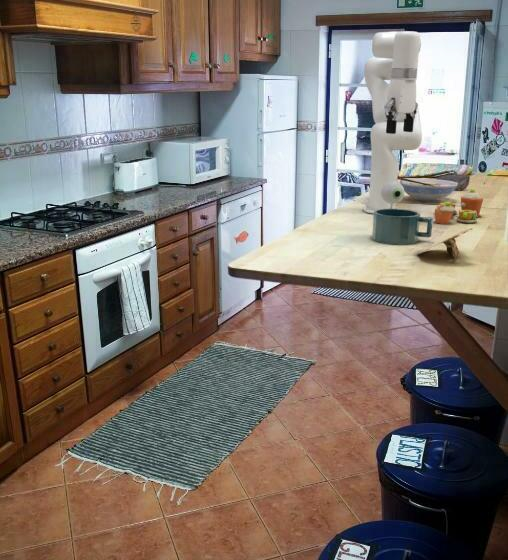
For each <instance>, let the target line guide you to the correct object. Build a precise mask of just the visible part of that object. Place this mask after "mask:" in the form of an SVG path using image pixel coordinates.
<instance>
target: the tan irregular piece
mask: <svg viewBox="0 0 508 560" xmlns="http://www.w3.org/2000/svg"><path fill="white" fill-rule="evenodd" d="M470 231H473V228H471V227H470V228H466V229H464V230H462V231H460V232H458V233H456V234H454V235H452V236H450V237H448V238H446V239H444V240H442V241H440V242H438V243H436V244H433V245H432V246H430V247H429V248H426V249H424V250H422V251H420V254H423V253H425V252H427V251H428V250H430V249H432V248H434V247H436V246H438V245H441V244H444V245H445V247H446V253H447V254H448V255H449V256H451V257H452V258H453V259H452V263H455V262H456V261H457V258H458V256H459V254H460V251H459V248H458V245H457V242H456V241H457V240H456V239H457V238H458V237H460V235H463V234H468V233H469V232H470Z"/></svg>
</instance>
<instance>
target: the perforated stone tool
mask: <svg viewBox="0 0 508 560" xmlns="http://www.w3.org/2000/svg"><path fill="white" fill-rule="evenodd" d="M436 179H437V180H446V181H452V182H456V183H457V184H458V185H457V187H456V188H455V190H454V191H456V190H461V191H463V190H467V188H468V186H469V185H470V179H471V177H470V175H469V174H445V175H441V176H438V177H436Z"/></svg>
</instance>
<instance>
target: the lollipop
mask: <svg viewBox="0 0 508 560" xmlns="http://www.w3.org/2000/svg"><path fill="white" fill-rule="evenodd" d="M381 196H382V198H383V200H384V201H385V202H387V203H389V204H391V206H390V209H392V208H393V204H395V205H397V204H398V203H400V202H401V201H402V200H403V198H404V197H405V191H404V188H403V186H402V185H401V184H400V181H399V182H398V181H397V182H396V181H390V182H387V183H386V184H385V185H384V186H383V187H382V190H381Z"/></svg>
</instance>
